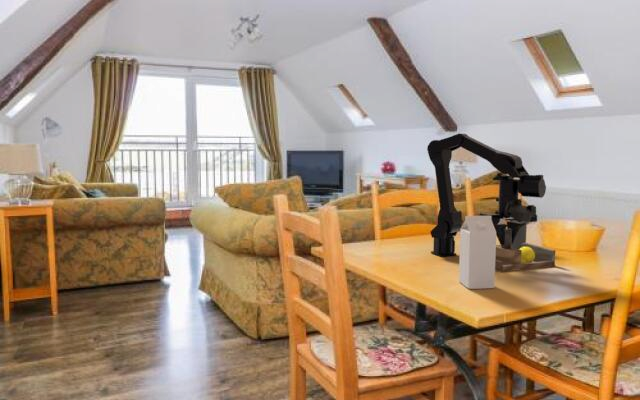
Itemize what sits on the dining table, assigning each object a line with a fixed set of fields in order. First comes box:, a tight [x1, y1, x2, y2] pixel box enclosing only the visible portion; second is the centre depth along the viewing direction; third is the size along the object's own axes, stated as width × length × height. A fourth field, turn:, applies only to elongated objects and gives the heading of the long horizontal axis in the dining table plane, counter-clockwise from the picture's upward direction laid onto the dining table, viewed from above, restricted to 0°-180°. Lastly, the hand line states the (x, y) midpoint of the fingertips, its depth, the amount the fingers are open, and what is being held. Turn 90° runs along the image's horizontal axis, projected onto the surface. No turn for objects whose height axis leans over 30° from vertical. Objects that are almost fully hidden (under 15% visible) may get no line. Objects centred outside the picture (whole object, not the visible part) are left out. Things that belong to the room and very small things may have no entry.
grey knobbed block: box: [495, 227, 522, 265], centre depth 158 cm, size 4×9×11 cm, turn 20°
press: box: [495, 242, 556, 273], centre depth 160 cm, size 21×13×5 cm, turn 110°
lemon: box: [519, 247, 535, 263], centre depth 161 cm, size 7×5×5 cm
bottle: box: [511, 221, 528, 249], centre depth 182 cm, size 6×6×15 cm
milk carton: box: [458, 215, 497, 290], centre depth 135 cm, size 7×7×19 cm
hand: (506, 244), depth 158 cm, fingers closed on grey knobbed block, 3 cm apart
